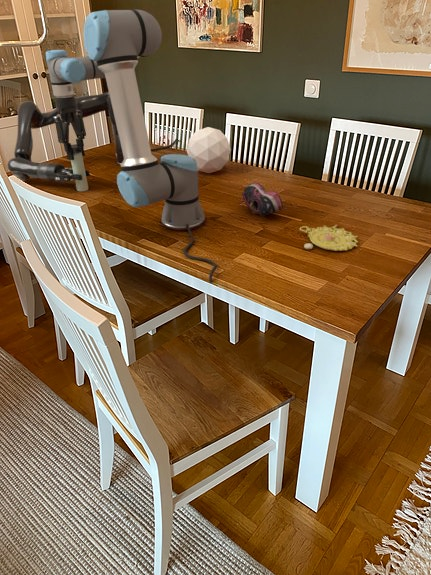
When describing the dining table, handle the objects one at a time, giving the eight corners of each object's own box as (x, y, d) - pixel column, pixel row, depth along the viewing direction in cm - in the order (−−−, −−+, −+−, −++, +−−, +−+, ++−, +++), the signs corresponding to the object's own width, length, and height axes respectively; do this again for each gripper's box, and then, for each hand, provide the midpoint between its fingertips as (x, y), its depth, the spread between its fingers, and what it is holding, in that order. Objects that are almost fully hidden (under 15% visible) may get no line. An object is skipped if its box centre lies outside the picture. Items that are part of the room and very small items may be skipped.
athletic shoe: (254, 181, 170) (227, 189, 167) (283, 176, 151) (253, 185, 147) (260, 210, 173) (234, 218, 170) (290, 209, 154) (261, 219, 150)
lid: (78, 148, 182) (77, 143, 181) (85, 151, 178) (84, 146, 177) (65, 151, 179) (64, 146, 178) (71, 154, 175) (70, 149, 174)
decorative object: (343, 255, 128) (285, 234, 139) (342, 262, 130) (284, 241, 140) (372, 230, 142) (317, 213, 152) (371, 237, 143) (316, 219, 153)
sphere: (214, 188, 203) (213, 162, 184) (180, 167, 207) (175, 139, 188) (238, 160, 207) (239, 131, 189) (204, 140, 212) (202, 110, 193)
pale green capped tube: (90, 188, 188) (83, 147, 178) (82, 192, 184) (74, 150, 175) (82, 186, 190) (74, 145, 181) (74, 190, 187) (65, 148, 177)
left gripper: (63, 175, 196) (96, 178, 191) (42, 186, 184) (77, 190, 179) (59, 158, 192) (93, 161, 187) (38, 168, 180) (73, 171, 175)
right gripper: (53, 101, 159) (66, 165, 171) (88, 92, 173) (98, 152, 185) (38, 99, 162) (52, 162, 175) (74, 91, 176) (85, 150, 188)
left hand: (85, 175), depth 183 cm, fingers closed on pale green capped tube, 4 cm apart
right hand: (76, 157), depth 180 cm, fingers closed on lid, 6 cm apart
